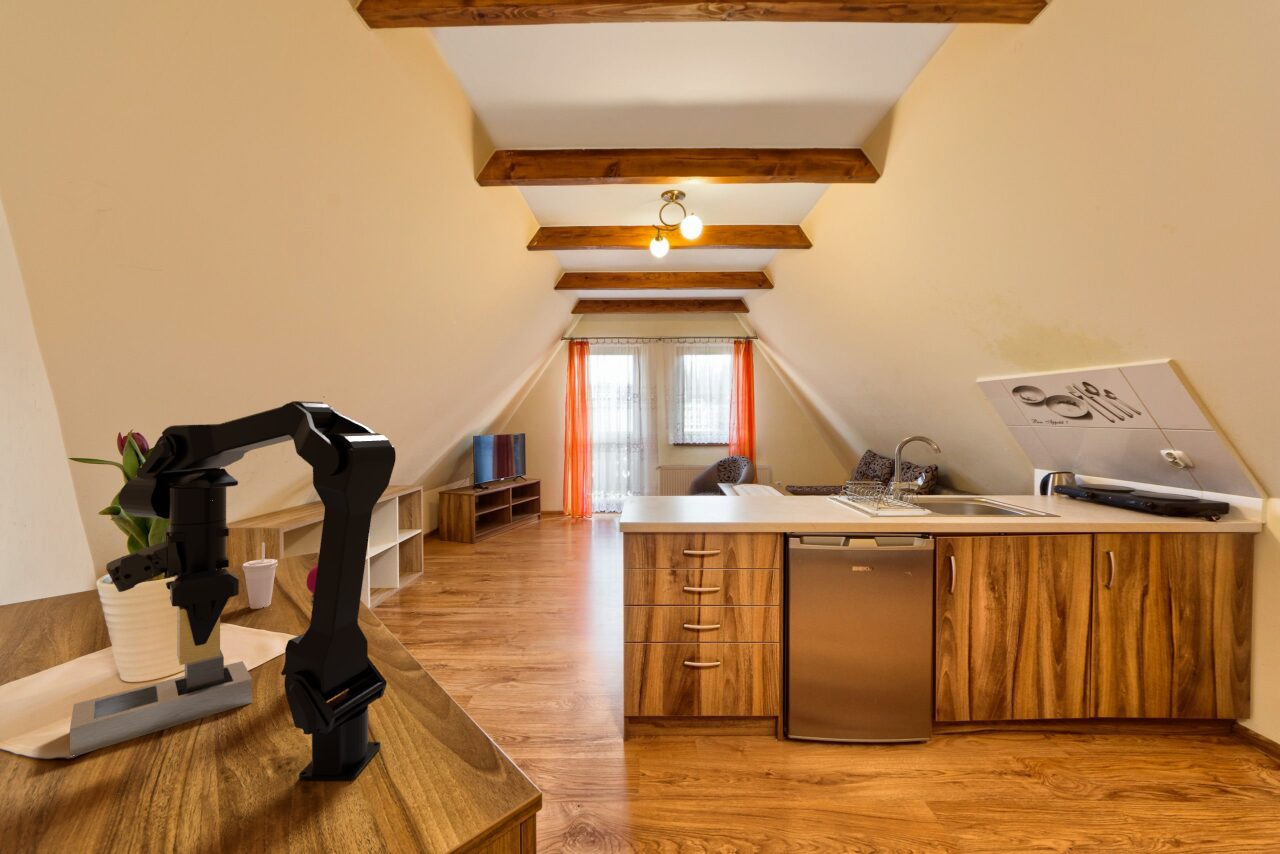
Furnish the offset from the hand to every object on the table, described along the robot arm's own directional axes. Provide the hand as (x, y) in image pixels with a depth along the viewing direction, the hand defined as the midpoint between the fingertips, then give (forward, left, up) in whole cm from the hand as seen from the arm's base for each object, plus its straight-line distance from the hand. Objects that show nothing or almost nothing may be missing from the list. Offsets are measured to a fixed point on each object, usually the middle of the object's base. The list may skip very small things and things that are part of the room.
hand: (198, 639), depth 69 cm
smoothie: (+48, +27, -12) cm, 56 cm away
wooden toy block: (0, 0, -2) cm, 2 cm away
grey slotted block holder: (+4, +8, -12) cm, 15 cm away
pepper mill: (+15, -8, -12) cm, 21 cm away
